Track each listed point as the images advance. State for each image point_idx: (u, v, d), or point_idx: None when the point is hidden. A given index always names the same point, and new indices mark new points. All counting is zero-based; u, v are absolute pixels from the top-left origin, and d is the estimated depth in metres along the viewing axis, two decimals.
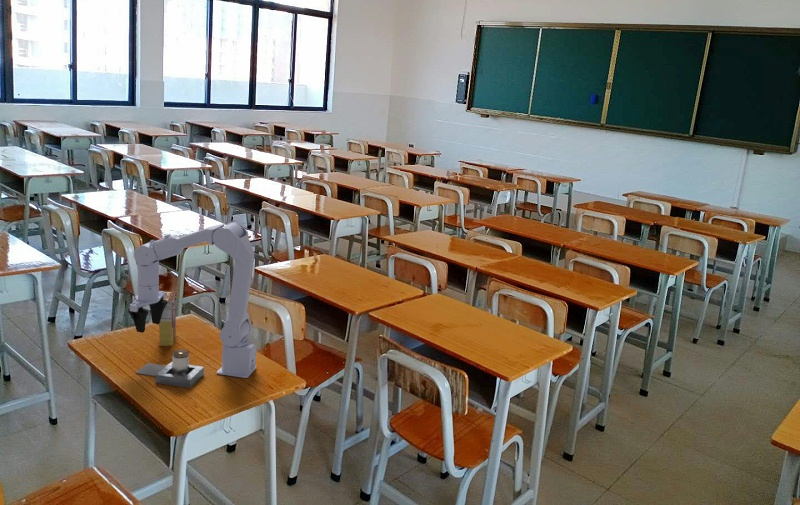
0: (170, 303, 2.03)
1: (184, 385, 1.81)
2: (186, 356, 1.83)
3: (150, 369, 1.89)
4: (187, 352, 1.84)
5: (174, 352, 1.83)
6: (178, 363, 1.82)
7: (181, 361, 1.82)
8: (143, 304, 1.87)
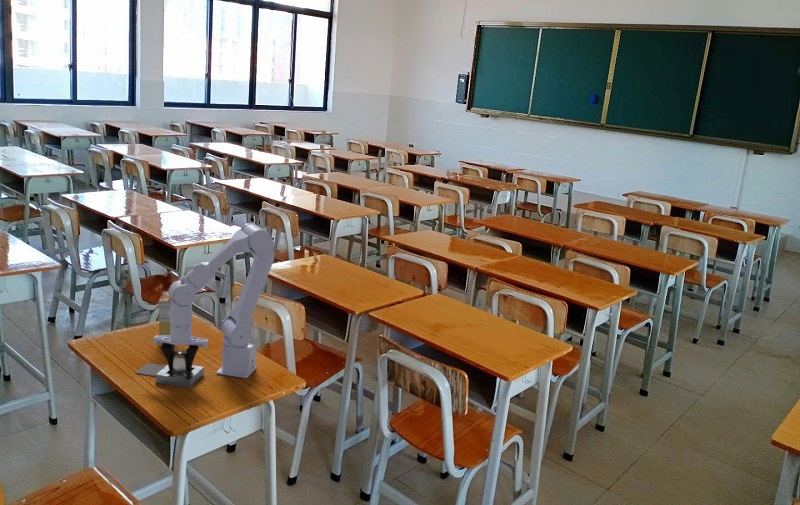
0: (170, 303, 2.03)
1: (184, 385, 1.81)
2: (186, 356, 1.83)
3: (150, 369, 1.89)
4: None
5: (174, 352, 1.83)
6: (178, 363, 1.82)
7: (181, 361, 1.82)
8: (162, 340, 1.81)
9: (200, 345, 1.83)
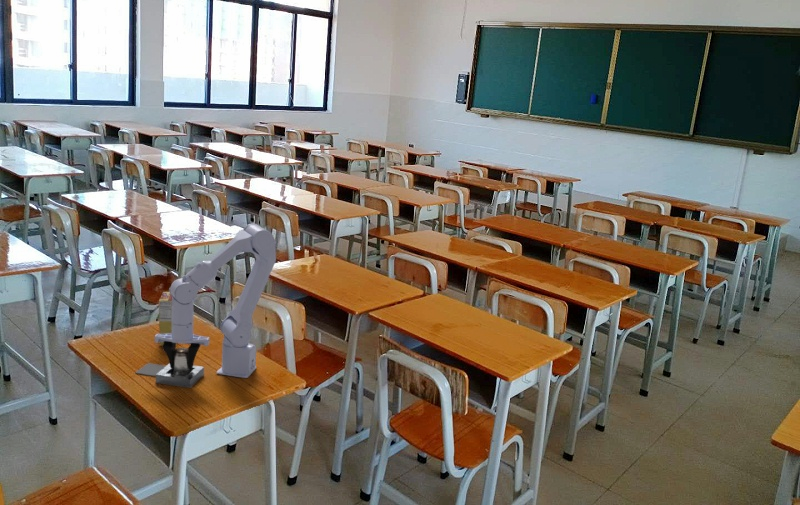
0: (170, 303, 2.03)
1: (184, 385, 1.81)
2: (188, 354, 1.83)
3: (150, 369, 1.89)
4: None
5: (175, 350, 1.83)
6: (179, 361, 1.82)
7: (182, 359, 1.82)
8: (163, 338, 1.81)
9: (201, 343, 1.83)
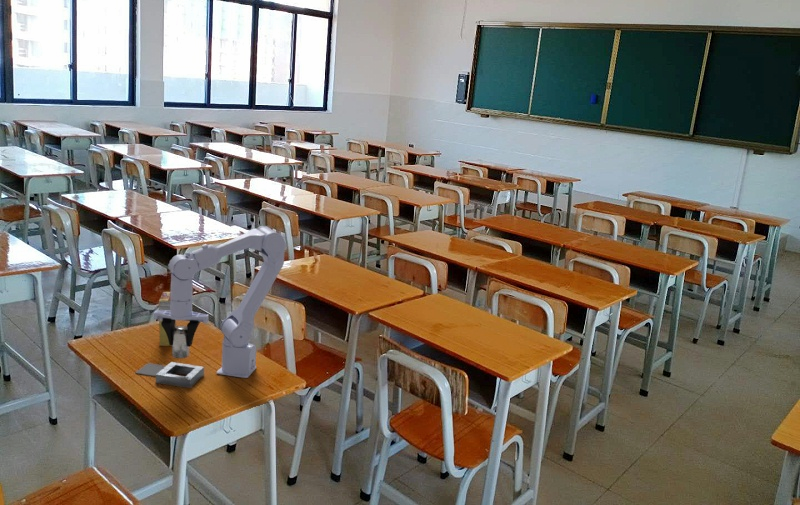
0: (170, 303, 2.03)
1: (184, 385, 1.81)
2: (187, 332, 1.81)
3: (150, 369, 1.89)
4: None
5: (174, 328, 1.82)
6: (178, 338, 1.80)
7: (181, 337, 1.80)
8: (162, 315, 1.79)
9: (201, 320, 1.81)
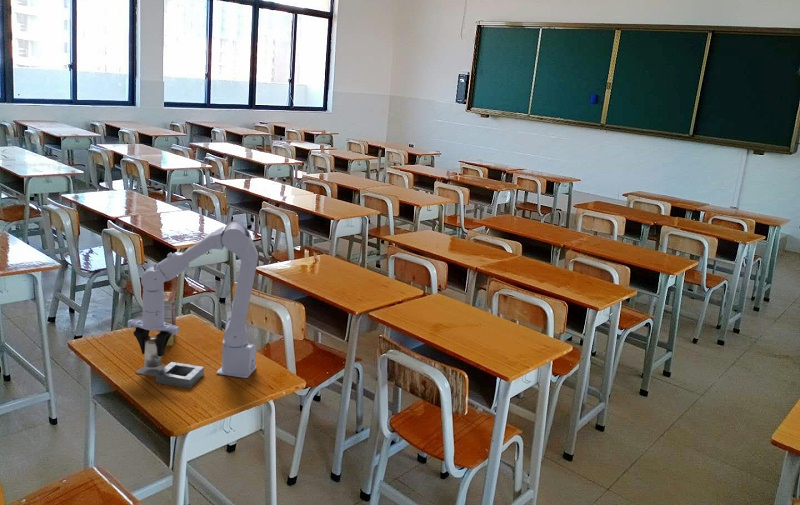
0: (170, 303, 2.03)
1: (184, 385, 1.81)
2: None
3: (150, 369, 1.89)
4: None
5: (146, 338, 1.86)
6: (149, 348, 1.85)
7: (152, 347, 1.85)
8: (135, 324, 1.85)
9: (171, 331, 1.85)
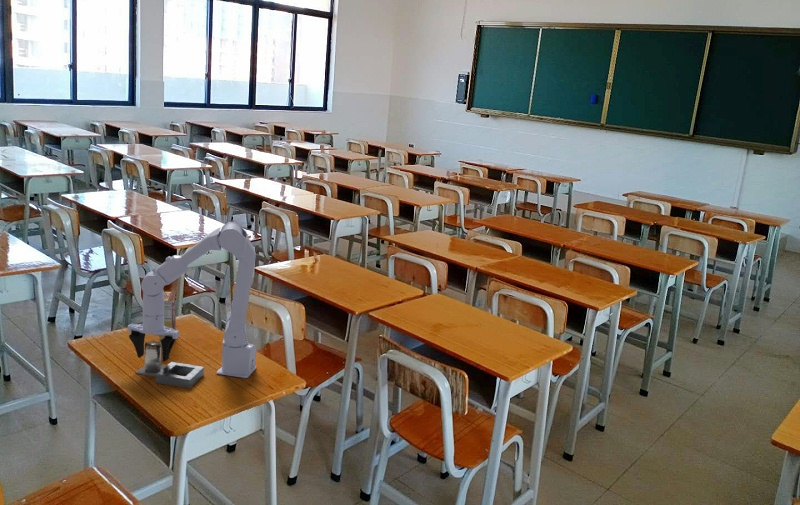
0: (170, 303, 2.03)
1: (184, 385, 1.81)
2: (158, 347, 1.86)
3: None
4: (159, 344, 1.87)
5: (147, 343, 1.87)
6: (149, 353, 1.85)
7: (152, 352, 1.85)
8: (135, 328, 1.85)
9: (171, 336, 1.85)
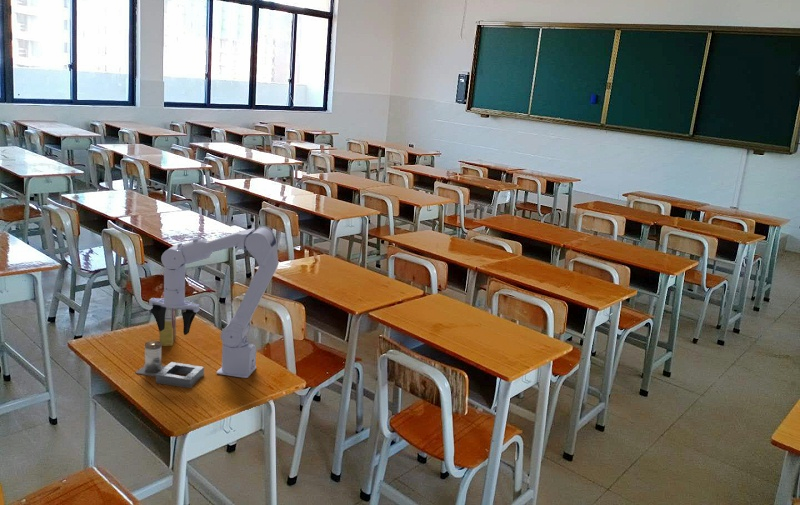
0: None
1: (184, 385, 1.81)
2: (158, 347, 1.86)
3: None
4: (159, 344, 1.87)
5: (147, 343, 1.87)
6: (149, 353, 1.85)
7: (152, 352, 1.85)
8: (156, 302, 1.88)
9: (191, 309, 1.89)
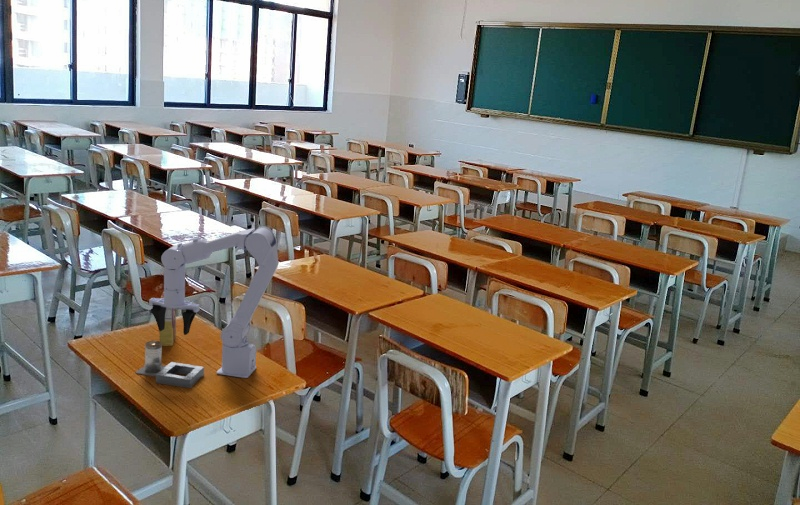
0: None
1: (184, 385, 1.81)
2: (158, 348, 1.86)
3: None
4: (160, 344, 1.87)
5: (147, 343, 1.87)
6: (149, 353, 1.85)
7: (152, 352, 1.85)
8: (156, 302, 1.88)
9: (191, 309, 1.89)
